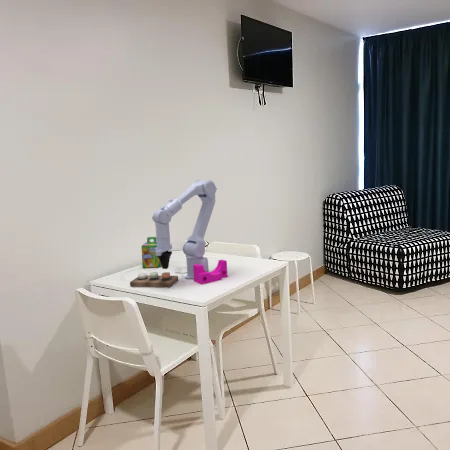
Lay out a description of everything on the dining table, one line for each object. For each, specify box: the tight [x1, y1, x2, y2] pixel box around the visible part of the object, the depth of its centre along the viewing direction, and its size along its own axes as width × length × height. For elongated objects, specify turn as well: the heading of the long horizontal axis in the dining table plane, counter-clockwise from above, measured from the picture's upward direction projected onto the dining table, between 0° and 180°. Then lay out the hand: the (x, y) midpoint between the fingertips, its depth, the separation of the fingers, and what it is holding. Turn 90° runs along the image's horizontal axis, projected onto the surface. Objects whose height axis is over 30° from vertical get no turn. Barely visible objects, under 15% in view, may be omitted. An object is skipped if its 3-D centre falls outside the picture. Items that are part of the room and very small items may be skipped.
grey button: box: [137, 272, 147, 279], centre depth 194 cm, size 4×4×2 cm
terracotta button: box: [161, 272, 171, 278], centre depth 192 cm, size 4×4×2 cm
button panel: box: [129, 274, 179, 288], centre depth 193 cm, size 18×11×2 cm, turn 77°
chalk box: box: [141, 236, 162, 269], centre depth 224 cm, size 9×9×15 cm
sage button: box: [149, 271, 159, 278], centre depth 193 cm, size 4×4×2 cm
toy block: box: [193, 259, 228, 285], centre depth 195 cm, size 15×6×8 cm, turn 122°
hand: (165, 268), depth 191 cm, fingers closed
